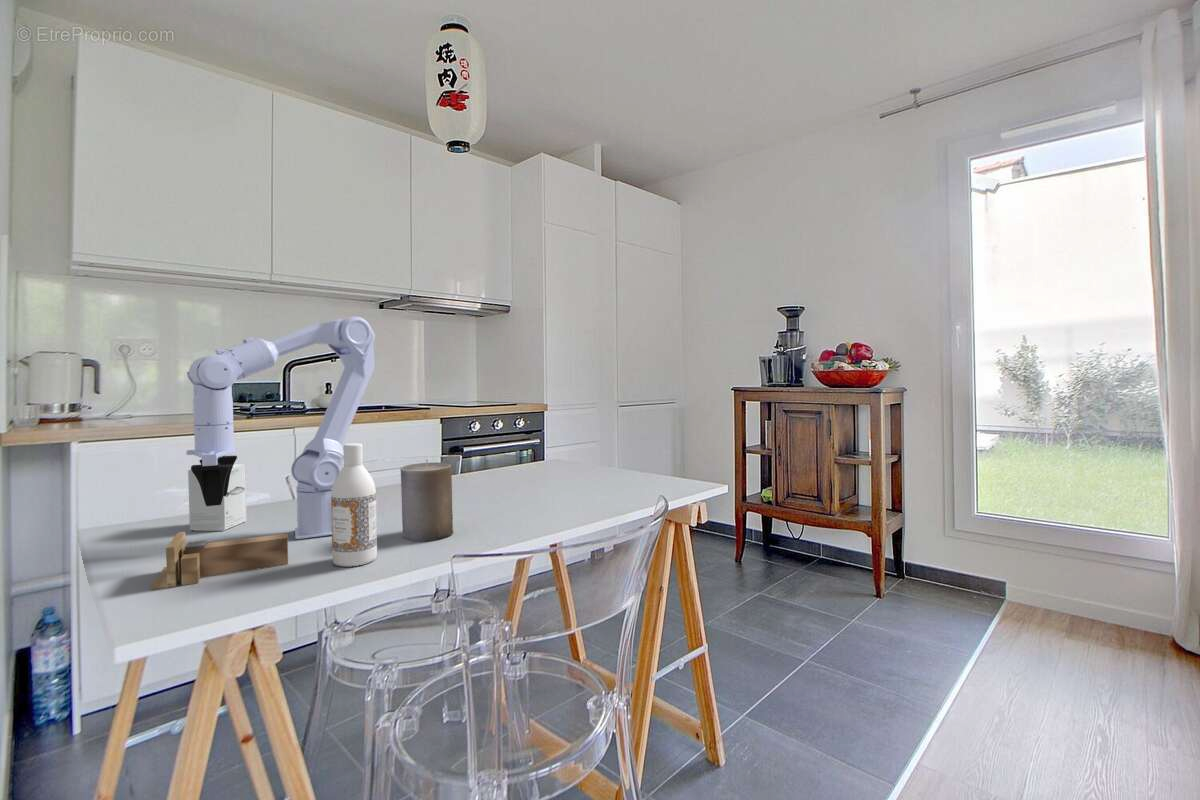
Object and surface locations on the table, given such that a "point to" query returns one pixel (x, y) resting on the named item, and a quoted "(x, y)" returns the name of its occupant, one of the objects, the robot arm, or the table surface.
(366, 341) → the robot arm
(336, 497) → the bath foam
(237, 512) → the supplement box
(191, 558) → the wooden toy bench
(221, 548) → the brown wooden block
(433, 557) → the table surface
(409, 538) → the pillar candle
